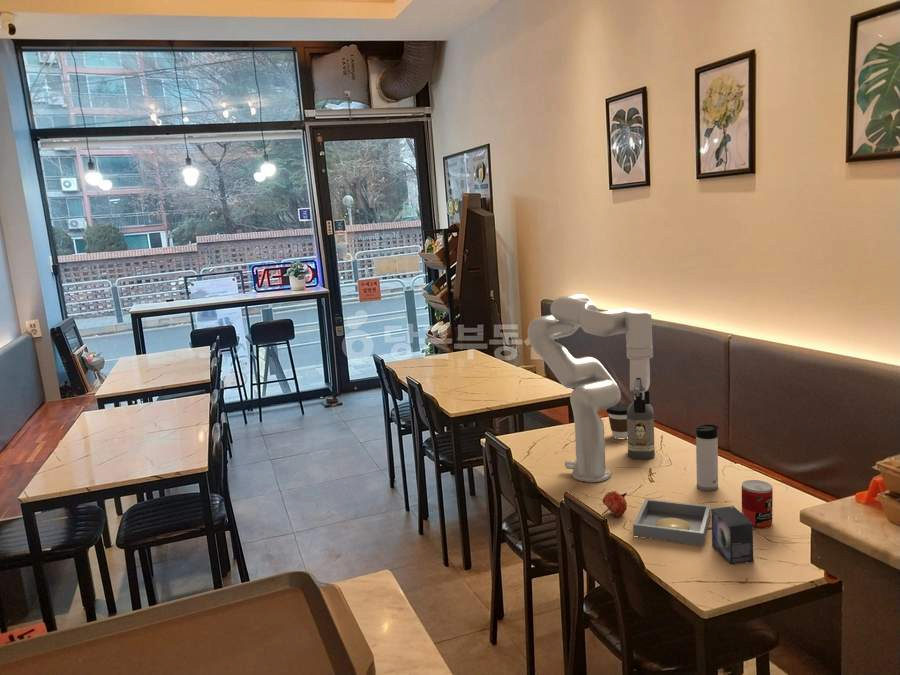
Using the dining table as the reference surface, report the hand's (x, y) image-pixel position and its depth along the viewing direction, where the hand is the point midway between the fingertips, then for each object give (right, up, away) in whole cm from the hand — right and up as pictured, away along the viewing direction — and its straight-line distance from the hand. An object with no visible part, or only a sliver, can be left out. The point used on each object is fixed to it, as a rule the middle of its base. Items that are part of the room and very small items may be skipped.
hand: (642, 408), depth 209 cm
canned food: (+27, -30, -17) cm, 44 cm away
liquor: (+11, -21, +41) cm, 48 cm away
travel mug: (+23, -26, +9) cm, 36 cm away
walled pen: (+4, -31, -16) cm, 35 cm away
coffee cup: (+9, -18, +62) cm, 65 cm away
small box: (+14, -34, -33) cm, 49 cm away
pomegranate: (-10, -31, -6) cm, 33 cm away
